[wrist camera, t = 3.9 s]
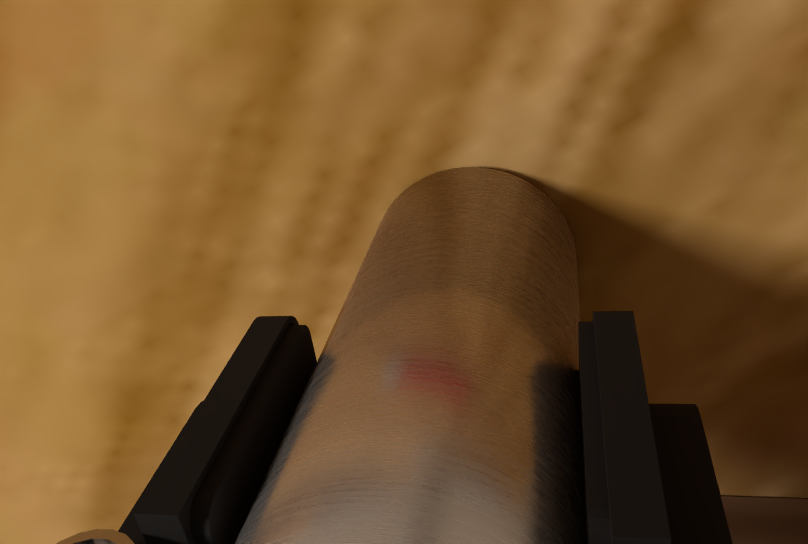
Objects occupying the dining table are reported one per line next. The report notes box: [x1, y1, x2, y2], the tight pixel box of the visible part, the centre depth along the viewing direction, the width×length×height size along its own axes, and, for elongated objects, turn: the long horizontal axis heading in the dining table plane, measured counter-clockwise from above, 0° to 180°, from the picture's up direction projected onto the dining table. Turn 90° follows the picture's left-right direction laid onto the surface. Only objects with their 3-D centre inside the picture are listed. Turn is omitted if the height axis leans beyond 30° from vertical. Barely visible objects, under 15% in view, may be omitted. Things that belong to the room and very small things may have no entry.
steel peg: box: [235, 167, 587, 544], centre depth 10 cm, size 4×4×12 cm
